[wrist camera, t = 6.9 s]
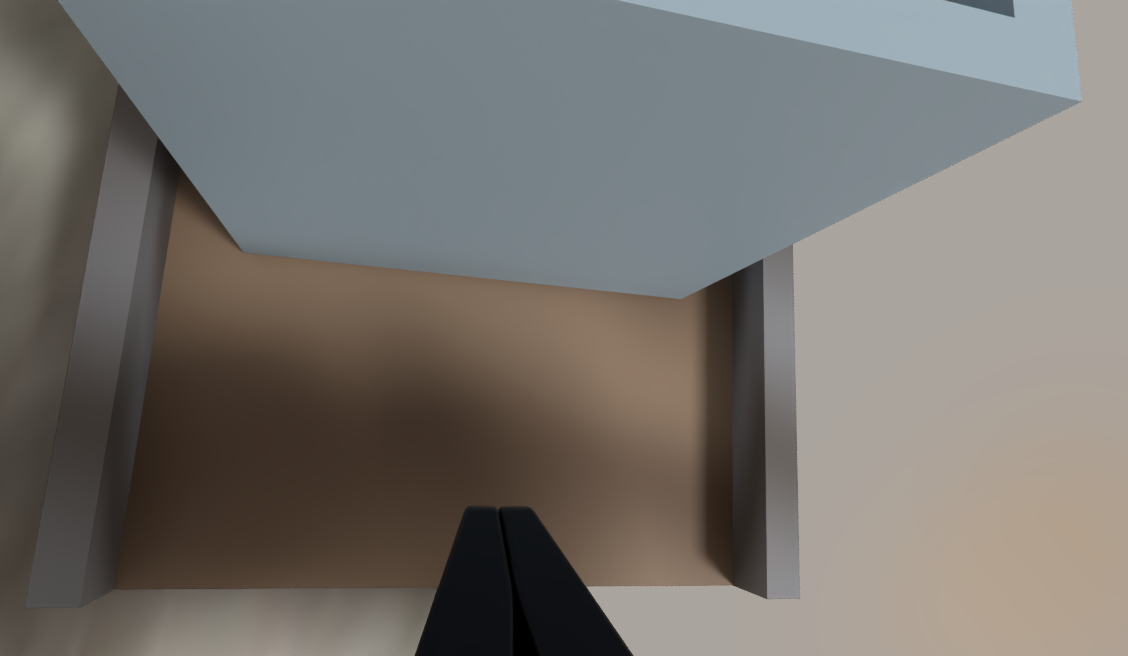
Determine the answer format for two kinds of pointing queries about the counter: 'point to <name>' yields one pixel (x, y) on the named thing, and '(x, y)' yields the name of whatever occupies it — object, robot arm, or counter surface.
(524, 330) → the brown wooden tray
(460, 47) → the box
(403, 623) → the counter surface
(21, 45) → the counter surface
